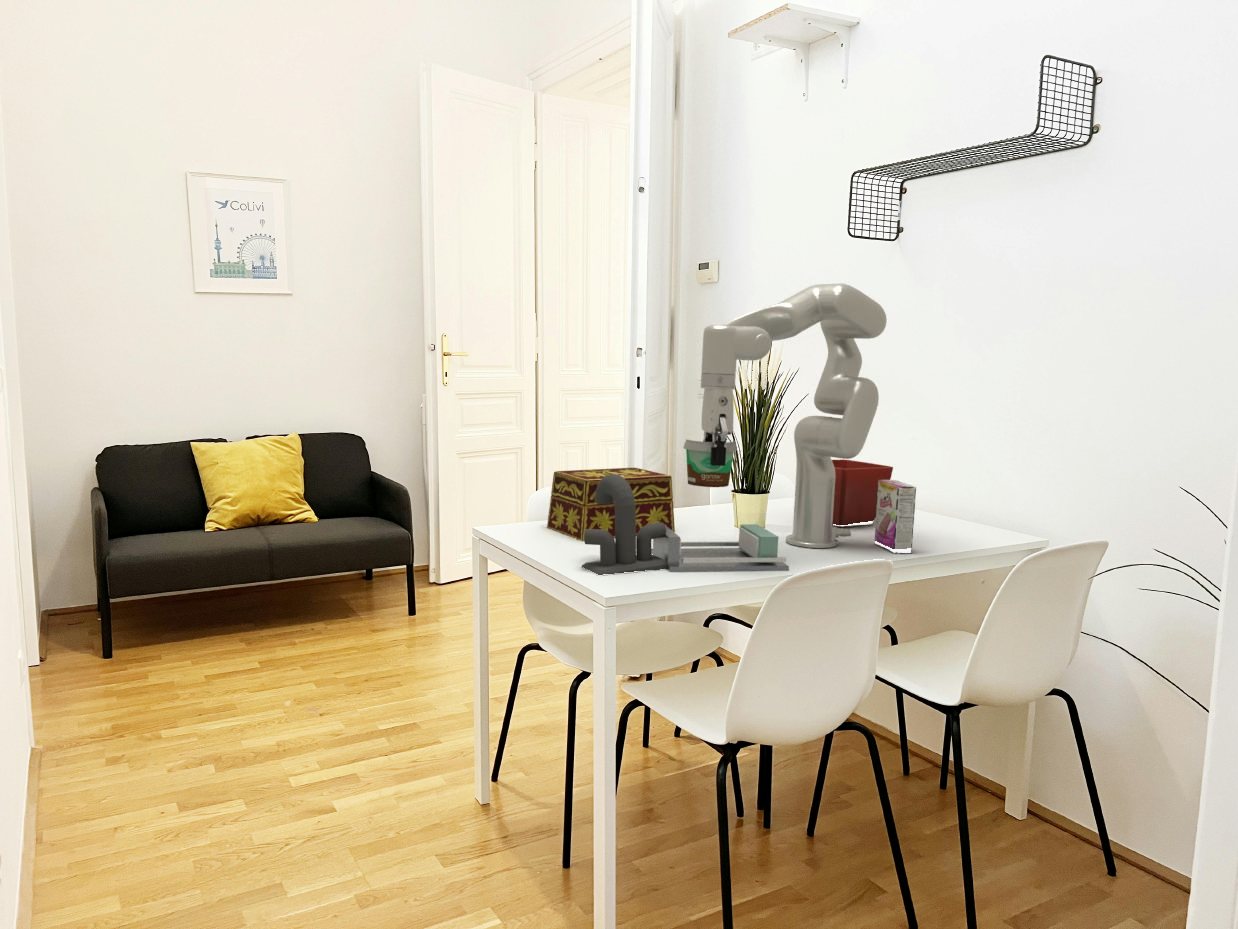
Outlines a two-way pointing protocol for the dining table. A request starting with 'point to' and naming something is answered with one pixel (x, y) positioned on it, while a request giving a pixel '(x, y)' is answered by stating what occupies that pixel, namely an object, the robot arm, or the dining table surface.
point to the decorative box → (581, 512)
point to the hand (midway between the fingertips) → (713, 462)
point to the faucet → (623, 533)
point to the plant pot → (857, 490)
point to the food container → (707, 464)
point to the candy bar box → (895, 514)
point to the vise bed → (709, 556)
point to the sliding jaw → (757, 541)
